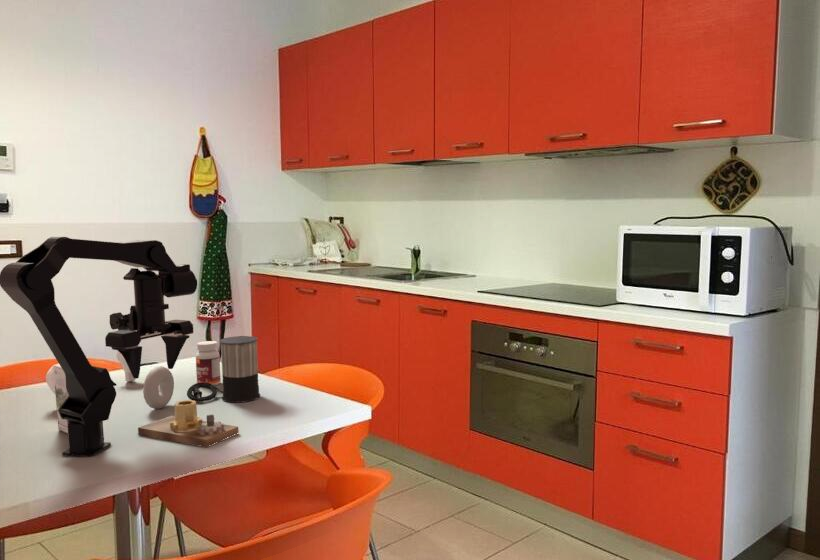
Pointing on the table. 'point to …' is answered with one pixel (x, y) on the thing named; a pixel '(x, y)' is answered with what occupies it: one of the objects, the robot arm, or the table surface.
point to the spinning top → (51, 379)
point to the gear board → (189, 431)
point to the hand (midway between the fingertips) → (153, 373)
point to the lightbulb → (125, 368)
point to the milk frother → (234, 372)
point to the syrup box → (60, 395)
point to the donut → (158, 387)
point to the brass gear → (185, 416)
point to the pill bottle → (208, 363)
